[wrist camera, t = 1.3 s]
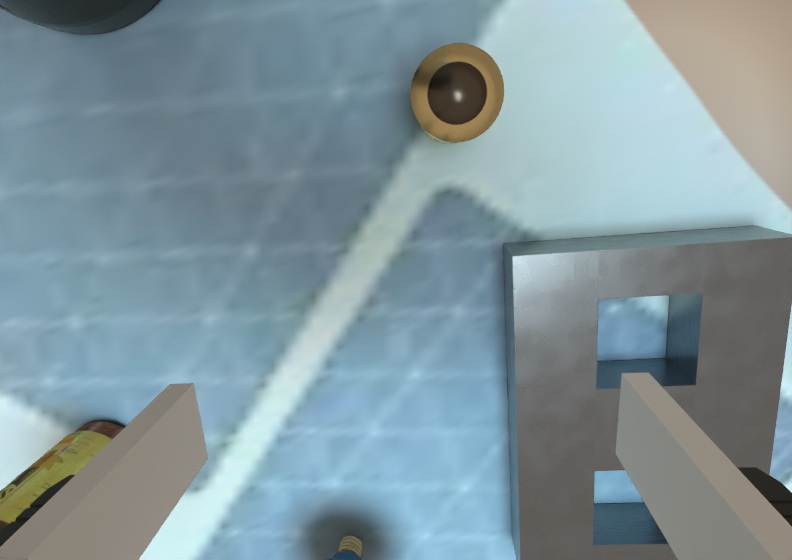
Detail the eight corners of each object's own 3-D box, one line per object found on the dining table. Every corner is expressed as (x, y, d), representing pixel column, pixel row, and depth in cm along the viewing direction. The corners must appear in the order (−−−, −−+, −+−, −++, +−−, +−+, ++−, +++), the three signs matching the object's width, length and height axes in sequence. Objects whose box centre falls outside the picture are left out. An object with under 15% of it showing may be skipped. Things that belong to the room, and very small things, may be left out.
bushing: (413, 73, 30) (406, 47, 22) (484, 66, 30) (503, 37, 22) (418, 146, 31) (414, 145, 24) (487, 140, 31) (505, 137, 23)
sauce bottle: (85, 404, 38) (-257, 658, 19) (158, 437, 39) (-108, 719, 20) (64, 466, 40) (-269, 756, 21) (134, 497, 41) (-132, 810, 21)
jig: (503, 243, 33) (512, 256, 29) (754, 225, 31) (800, 236, 27) (511, 537, 39) (520, 580, 35) (722, 533, 37) (755, 578, 34)
